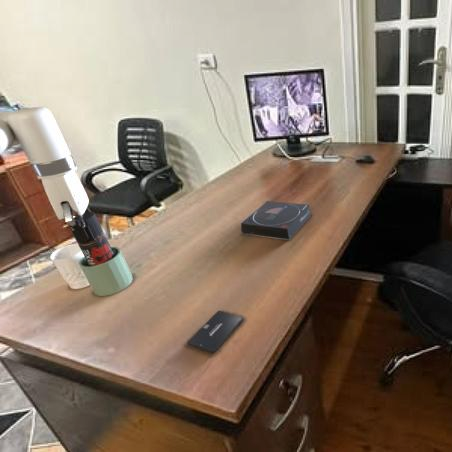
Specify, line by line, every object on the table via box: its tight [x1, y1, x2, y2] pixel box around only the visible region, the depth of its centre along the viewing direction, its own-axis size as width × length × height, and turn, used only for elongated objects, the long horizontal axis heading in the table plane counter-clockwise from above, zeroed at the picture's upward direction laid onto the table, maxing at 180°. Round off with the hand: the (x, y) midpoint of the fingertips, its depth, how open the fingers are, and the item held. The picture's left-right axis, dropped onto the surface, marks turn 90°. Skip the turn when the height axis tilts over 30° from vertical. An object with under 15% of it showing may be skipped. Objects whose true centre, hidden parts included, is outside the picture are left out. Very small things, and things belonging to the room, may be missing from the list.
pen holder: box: [79, 246, 134, 297], centre depth 92 cm, size 9×9×9 cm
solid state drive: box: [186, 310, 244, 355], centre depth 75 cm, size 7×10×1 cm
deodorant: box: [67, 211, 115, 266], centre depth 87 cm, size 6×6×15 cm
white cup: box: [49, 242, 90, 290], centre depth 94 cm, size 8×8×10 cm
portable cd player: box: [240, 200, 312, 241], centre depth 114 cm, size 16×17×4 cm
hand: (89, 235), depth 86 cm, fingers closed on deodorant, 6 cm apart
